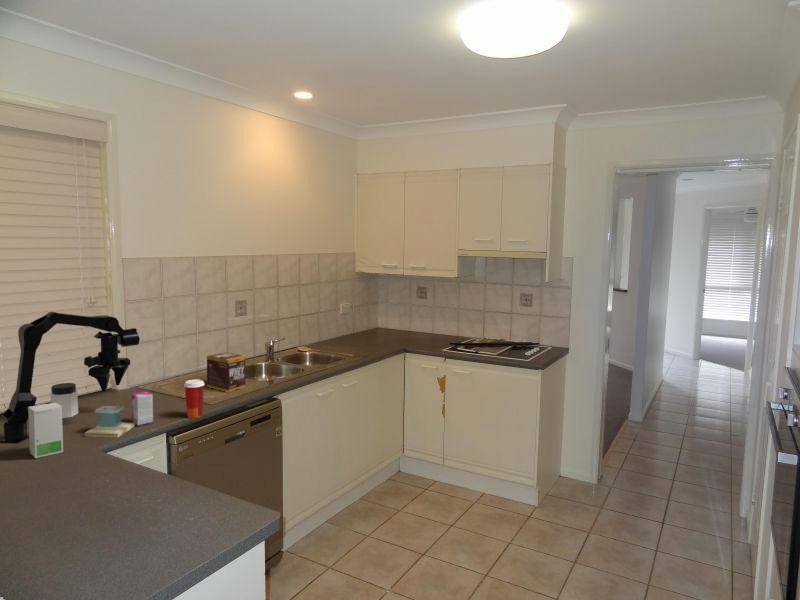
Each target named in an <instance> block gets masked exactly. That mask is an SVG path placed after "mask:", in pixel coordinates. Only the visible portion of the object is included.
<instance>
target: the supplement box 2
mask: <svg viewBox="0 0 800 600" xmlns="http://www.w3.org/2000/svg"><path fill="white" fill-rule="evenodd" d="M208 387H209V388H208ZM243 387H247V386H246V356H245V355H240V354H238V353H237V354H235V353H232V352H226V351H224V352H223V351H222V352H219V353H213V354H207V355H206V388H208V389H211V388H213V389H212V390H215V389H217V390H216V391H219V390H221V391H220V392H223V391H228V392H229V391H232V390H235V389H239V388H243Z"/></svg>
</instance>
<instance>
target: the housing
mask: <svg viewBox="0 0 800 600" xmlns="http://www.w3.org/2000/svg"><path fill="white" fill-rule="evenodd" d="M123 410H125V408H124V406H122V405H121V406H119V405H102V406H100V407H98V408H96V409H95V410H94V413H95V414H97V417H98V418H97V421H98V424H97V425H96V426H95V427H96V430H118V429H120V428H121V427H123V426H124V421H122V411H123Z"/></svg>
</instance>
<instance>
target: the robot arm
mask: <svg viewBox="0 0 800 600" xmlns="http://www.w3.org/2000/svg"><path fill="white" fill-rule="evenodd" d="M57 324H58V325H59V324H60V325H68V326H78V327H79V326H80V327H87V328H88V327H90V328H94V329H97V330H100V331H97V333H96V334H95V335H94V336H93V338H95V339H98V340H99V339H100V351H98V352H97V356H94V357H92V356H91V355H89V356H86V357H84V360H83V361H84V363H83V365H85V366H87V368H89V369H88V371H87V372H88V373H87V374H88V376H90V377H91V378H94V379H95V380H96V381H97V382H98V384H99V386H100V390H101V392H102V393H106V392H107V389H108V385H109V381H110V378H111V377H110V376H111V374H110V372H111V370H112V371H113V374H114V380H115V381H114V382H115V385H116V386H120V384H121V382H122V380H123V378H124V375H125V374H126V371H127V370H128V368H129V366H130V365H131V359H130V358H128V357H119V354H120V353H121V349H119V346H121V348H123V347H124V348H125V347H133V346H138V345H139V344H140V336H139V332H138V331H137V330H138V329H137V328H135V327H131V328H126V329H123V327H122V326H121V325H120V322H119V320H118V318H117V317H113V316H110V315H107V314H106V315H94V316H91V315H90V316H89V315H80V314H70V313H62V312H55V311H49V312H47V313H46V314H44V315H43V316H41V317H39V318H37V319H35V320H33V321H31V322H30V323H25V324H22V325H21V326H20V327H19V328H18V331H17V335H18V343H19V348H20V353H19V355H20V356H19V363H18V370H17V379H16V387H15V390H14V393H13V394H12V397H11V399H10V402H9V405H8V408H7V409H5V411H4V412H3V413H2V414H1V419H2V421H4V422H5V423H4V424H3V434H4V436H3V437H4V438H2V439H1V440H0V443H14V444H15V443H16V444H17V443H21V442H22V441H25V440H27V439H29V434H28V425H27V422H28V421H29V414H28V407H30V406H36V403H37V400H38V399H37V398H38V397H36V396H35V395H34V394H32V385H33V384H32V383H33V378H34V377H33V376H34V369H35V361H36V353H37V350H38V348H39V346H40V344H41V341H42V338H43V335H45V334H46V333H48V332H49V331H50V330H52V328H54V326H55V325H57ZM104 331H105V332H104Z"/></svg>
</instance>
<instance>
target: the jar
mask: <svg viewBox="0 0 800 600" xmlns="http://www.w3.org/2000/svg"><path fill="white" fill-rule="evenodd" d="M51 403H57V404H59V405H61V406H62V419H67V418H73V417H74V416H76V415H78V414H79V400H78V390H77V384H76V383H74V382H62V383H57V384H53V385H51V390H50V404H51Z"/></svg>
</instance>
